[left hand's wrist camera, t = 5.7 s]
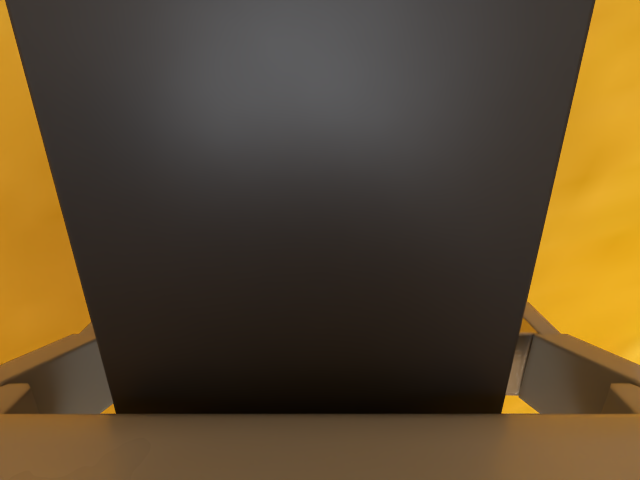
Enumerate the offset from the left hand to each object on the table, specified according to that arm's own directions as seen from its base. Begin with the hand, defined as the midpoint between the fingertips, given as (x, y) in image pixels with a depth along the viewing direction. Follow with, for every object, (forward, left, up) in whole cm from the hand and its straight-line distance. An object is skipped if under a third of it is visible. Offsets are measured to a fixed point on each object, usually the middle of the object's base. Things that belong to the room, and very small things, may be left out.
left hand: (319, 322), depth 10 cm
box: (+7, +8, -7) cm, 13 cm away
